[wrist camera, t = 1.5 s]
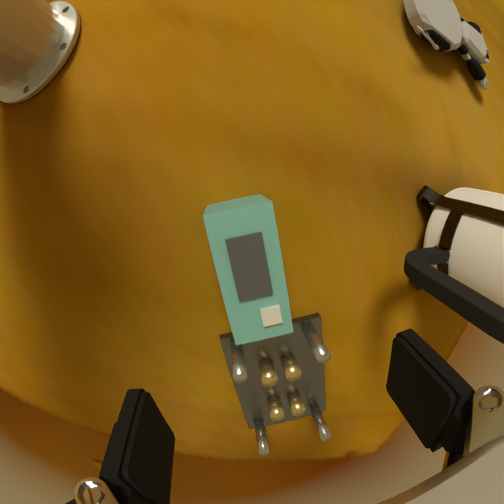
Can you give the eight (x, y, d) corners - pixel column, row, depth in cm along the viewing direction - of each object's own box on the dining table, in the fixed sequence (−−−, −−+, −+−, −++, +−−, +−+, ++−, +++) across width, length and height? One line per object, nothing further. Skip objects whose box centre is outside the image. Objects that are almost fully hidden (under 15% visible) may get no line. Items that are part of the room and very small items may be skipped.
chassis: (219, 334, 27) (220, 372, 21) (318, 312, 27) (339, 344, 22) (248, 424, 31) (253, 459, 26) (323, 406, 32) (337, 438, 26)
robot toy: (469, 33, 20) (392, -26, 17) (490, 28, 16) (412, -40, 12) (472, 96, 23) (391, 35, 20) (497, 94, 19) (417, 22, 15)
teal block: (207, 205, 23) (202, 216, 17) (259, 193, 24) (273, 201, 18) (232, 309, 26) (236, 347, 20) (278, 298, 26) (294, 334, 20)
